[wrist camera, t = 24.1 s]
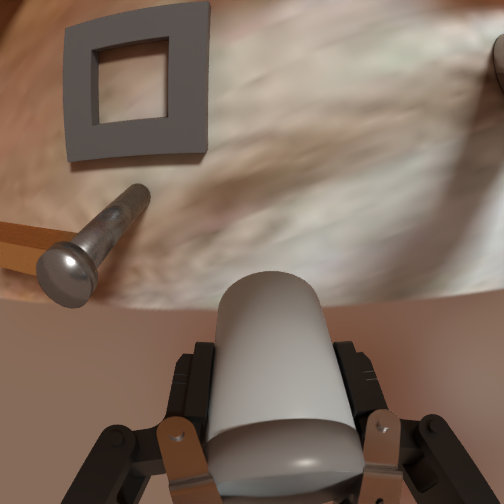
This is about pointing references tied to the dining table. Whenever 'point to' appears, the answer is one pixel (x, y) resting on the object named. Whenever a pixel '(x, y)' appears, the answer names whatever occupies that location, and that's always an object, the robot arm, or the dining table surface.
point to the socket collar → (179, 83)
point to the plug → (278, 398)
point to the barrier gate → (70, 249)
